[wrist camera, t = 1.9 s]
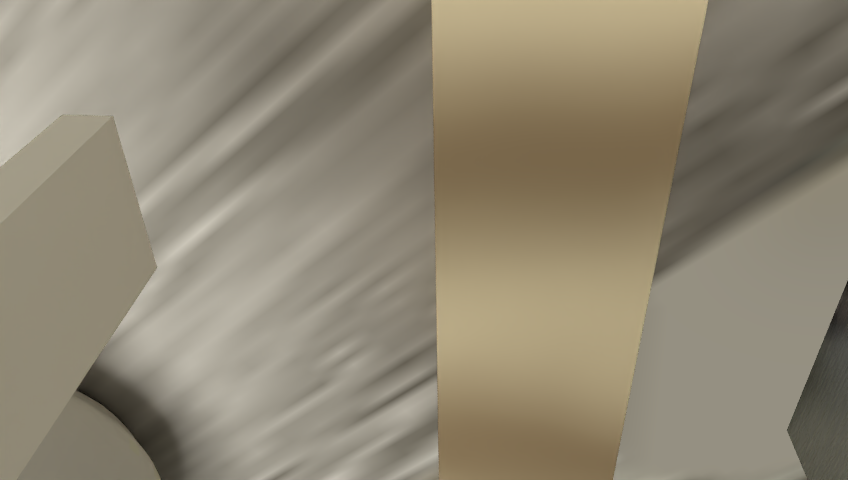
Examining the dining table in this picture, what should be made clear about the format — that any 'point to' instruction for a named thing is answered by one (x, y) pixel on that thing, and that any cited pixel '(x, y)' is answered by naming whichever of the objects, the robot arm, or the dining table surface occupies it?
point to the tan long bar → (549, 221)
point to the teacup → (89, 447)
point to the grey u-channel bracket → (825, 406)
